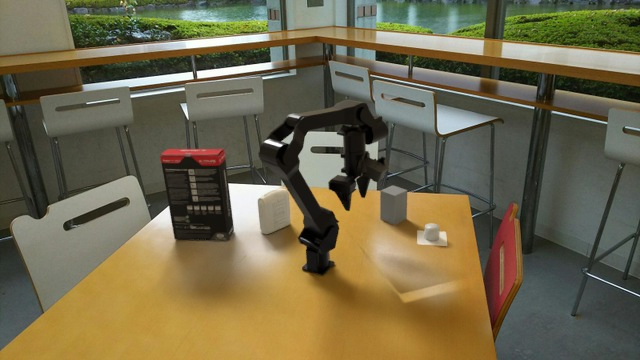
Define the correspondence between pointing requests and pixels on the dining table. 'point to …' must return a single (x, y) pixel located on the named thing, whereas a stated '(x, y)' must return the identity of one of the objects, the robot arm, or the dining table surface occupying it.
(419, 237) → the base
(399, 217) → the tall grey box
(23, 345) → the dining table surface
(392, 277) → the dining table surface
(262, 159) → the robot arm
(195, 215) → the graphics card box
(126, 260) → the dining table surface
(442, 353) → the dining table surface
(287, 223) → the photo printer
